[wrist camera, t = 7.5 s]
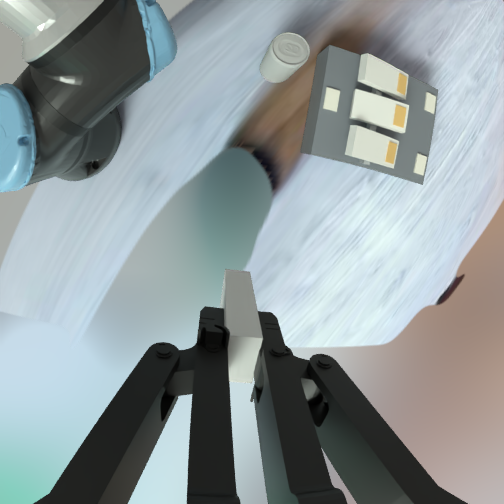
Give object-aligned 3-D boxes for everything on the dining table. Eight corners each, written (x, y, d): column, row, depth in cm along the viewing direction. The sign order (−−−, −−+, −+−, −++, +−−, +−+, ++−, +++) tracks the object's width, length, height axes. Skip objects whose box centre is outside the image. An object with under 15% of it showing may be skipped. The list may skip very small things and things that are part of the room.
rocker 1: (357, 80, 34) (365, 79, 32) (361, 54, 32) (368, 53, 31) (398, 99, 36) (406, 99, 35) (401, 75, 35) (409, 74, 33)
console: (300, 152, 45) (313, 154, 38) (317, 54, 39) (333, 41, 32) (403, 179, 48) (427, 186, 41) (418, 91, 42) (443, 88, 35)
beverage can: (264, 52, 39) (276, 26, 27) (293, 61, 39) (315, 39, 28) (255, 78, 40) (265, 59, 29) (285, 87, 41) (305, 71, 30)
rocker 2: (349, 118, 37) (351, 116, 35) (353, 91, 36) (355, 88, 34) (401, 133, 36) (405, 132, 35) (405, 106, 35) (409, 105, 33)
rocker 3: (344, 154, 37) (352, 156, 36) (350, 125, 36) (358, 125, 34) (386, 166, 40) (394, 168, 38) (391, 140, 38) (399, 141, 37)
